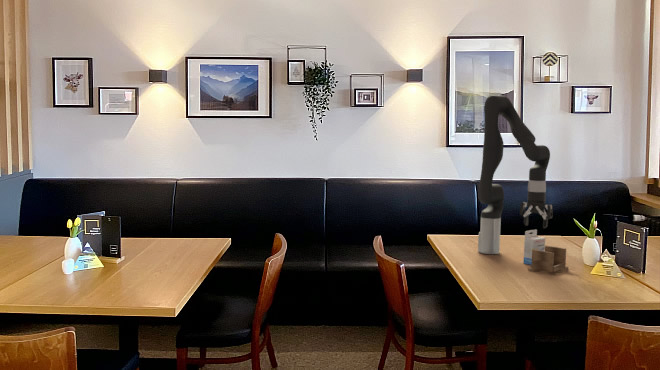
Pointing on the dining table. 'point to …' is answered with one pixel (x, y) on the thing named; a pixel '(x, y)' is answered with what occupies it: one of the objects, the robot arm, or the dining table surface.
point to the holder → (549, 260)
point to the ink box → (532, 245)
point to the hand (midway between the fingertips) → (535, 226)
